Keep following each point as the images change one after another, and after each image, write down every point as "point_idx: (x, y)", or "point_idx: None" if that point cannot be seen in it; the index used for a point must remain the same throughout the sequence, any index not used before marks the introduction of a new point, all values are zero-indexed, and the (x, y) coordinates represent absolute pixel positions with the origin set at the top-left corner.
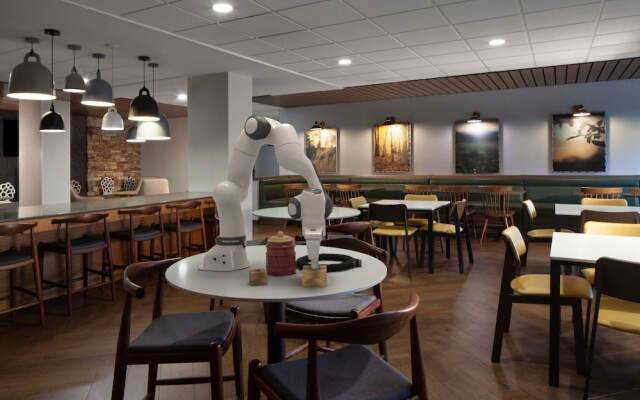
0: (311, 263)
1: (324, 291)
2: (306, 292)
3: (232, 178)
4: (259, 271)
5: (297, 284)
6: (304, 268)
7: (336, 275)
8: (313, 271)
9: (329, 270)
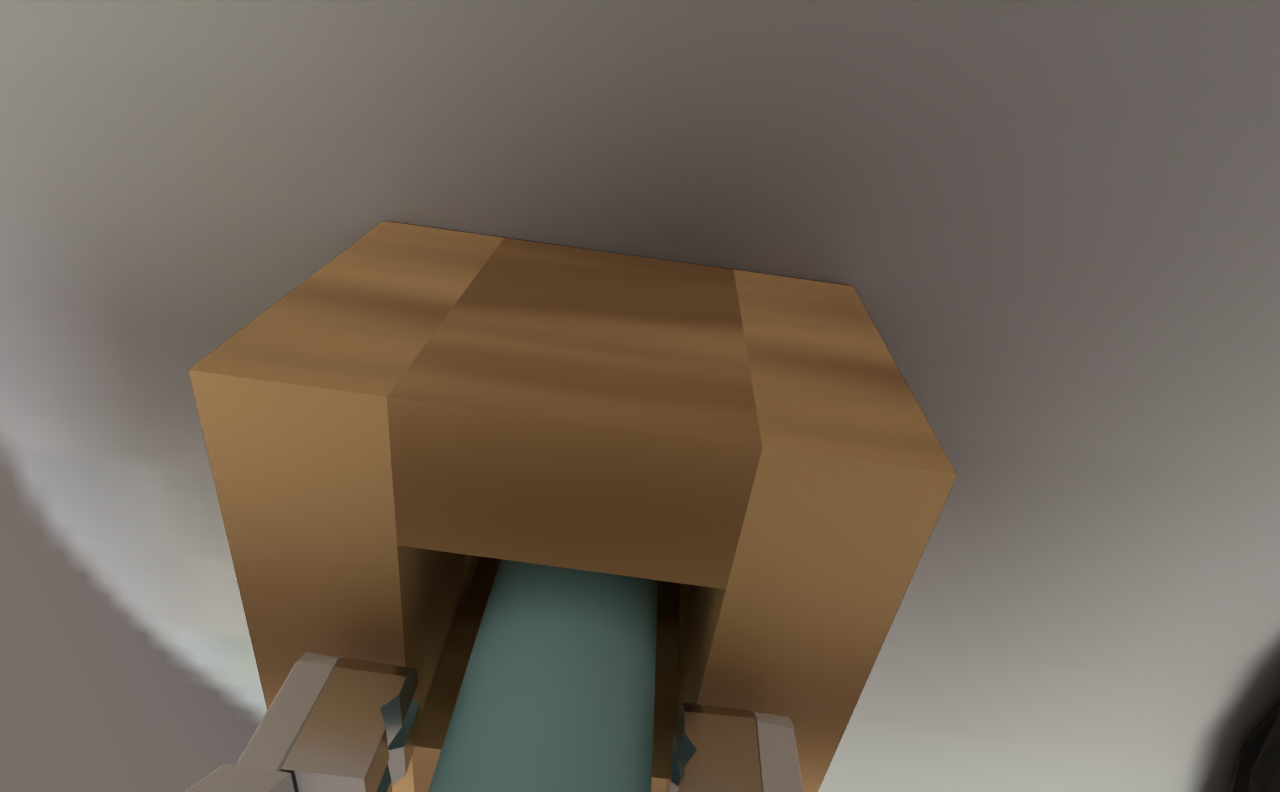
0: (487, 748)
1: (144, 513)
2: (17, 261)
3: None
4: None
5: (579, 129)
6: (545, 463)
7: (1009, 748)
8: (259, 611)
9: (1268, 739)
